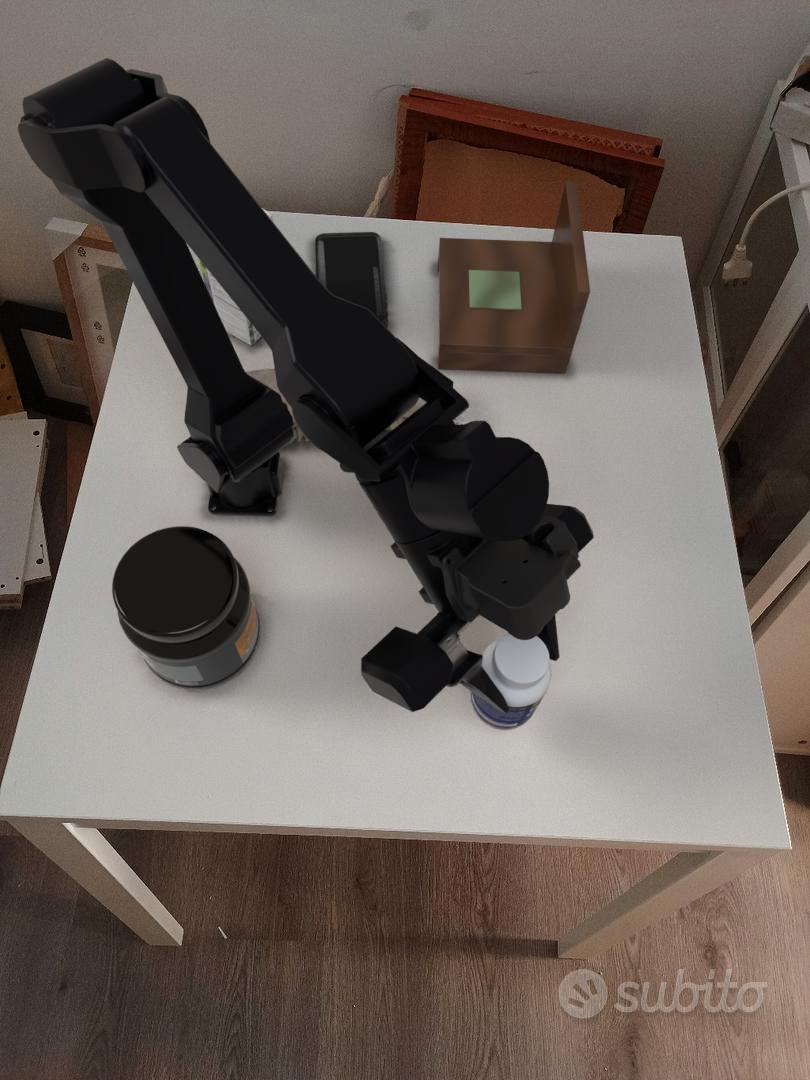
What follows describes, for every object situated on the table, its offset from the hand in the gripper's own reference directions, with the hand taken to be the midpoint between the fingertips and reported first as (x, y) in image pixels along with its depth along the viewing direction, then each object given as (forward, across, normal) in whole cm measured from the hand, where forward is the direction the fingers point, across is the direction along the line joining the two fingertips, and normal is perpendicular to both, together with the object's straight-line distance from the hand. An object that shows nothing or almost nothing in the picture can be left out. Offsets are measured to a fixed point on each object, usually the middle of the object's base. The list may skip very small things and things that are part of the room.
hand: (529, 684), depth 61 cm
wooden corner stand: (-14, +35, +31) cm, 49 cm away
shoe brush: (-16, +12, +33) cm, 38 cm away
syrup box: (-27, +15, +44) cm, 54 cm away
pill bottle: (+4, 0, +6) cm, 7 cm away
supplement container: (-9, -13, +26) cm, 30 cm away
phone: (-25, +27, +42) cm, 55 cm away
